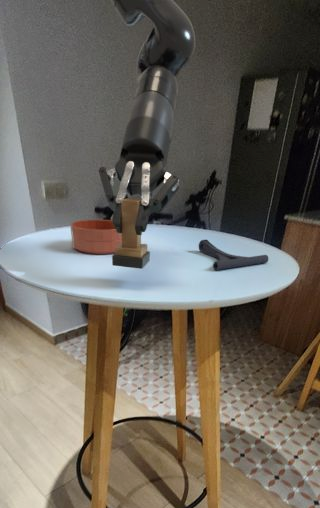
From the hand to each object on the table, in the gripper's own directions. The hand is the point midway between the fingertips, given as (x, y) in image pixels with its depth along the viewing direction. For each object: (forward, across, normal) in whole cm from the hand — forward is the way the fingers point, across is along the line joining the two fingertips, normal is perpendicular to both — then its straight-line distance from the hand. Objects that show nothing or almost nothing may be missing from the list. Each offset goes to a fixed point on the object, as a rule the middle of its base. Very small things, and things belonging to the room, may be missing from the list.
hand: (128, 230), depth 58 cm
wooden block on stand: (+2, 0, +5) cm, 6 cm away
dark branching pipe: (-12, +14, +25) cm, 31 cm away
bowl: (-11, -14, +24) cm, 30 cm away
